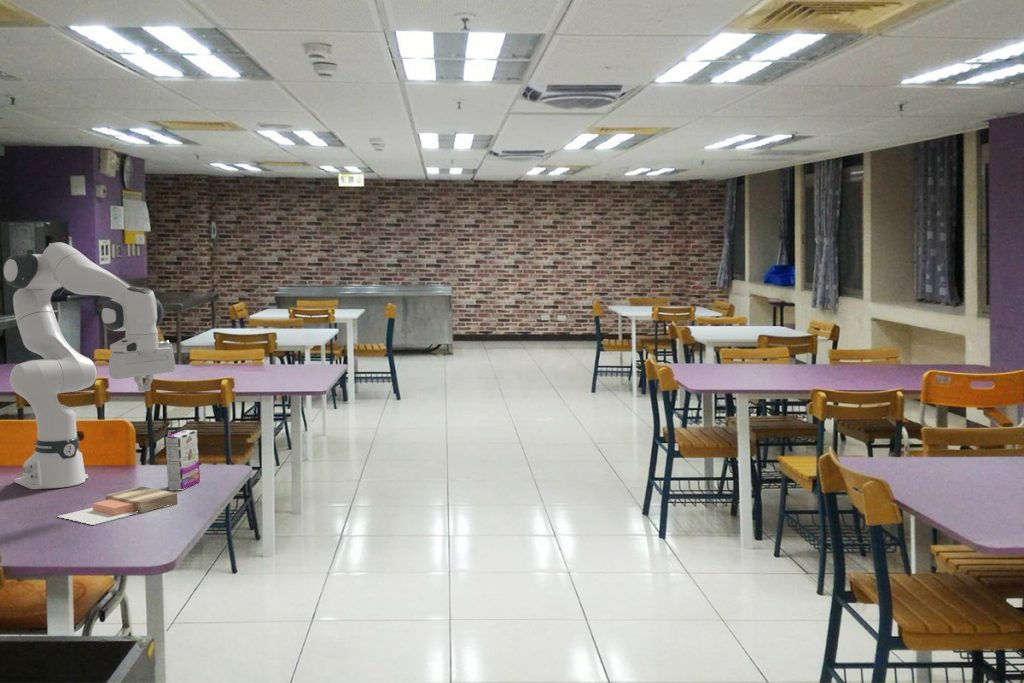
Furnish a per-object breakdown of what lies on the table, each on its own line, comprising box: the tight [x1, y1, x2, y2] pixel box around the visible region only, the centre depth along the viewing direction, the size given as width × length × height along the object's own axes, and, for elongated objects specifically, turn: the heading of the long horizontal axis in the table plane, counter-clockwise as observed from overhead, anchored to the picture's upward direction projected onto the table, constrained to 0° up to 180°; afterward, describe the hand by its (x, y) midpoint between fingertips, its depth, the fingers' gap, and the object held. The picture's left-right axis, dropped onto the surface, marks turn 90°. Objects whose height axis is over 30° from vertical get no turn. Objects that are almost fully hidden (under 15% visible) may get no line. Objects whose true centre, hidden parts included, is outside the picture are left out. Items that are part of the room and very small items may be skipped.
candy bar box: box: [164, 429, 201, 490], centre depth 316 cm, size 11×5×16 cm, turn 168°
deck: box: [104, 486, 178, 513], centre depth 295 cm, size 16×12×3 cm
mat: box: [56, 507, 138, 526], centre depth 283 cm, size 16×14×1 cm
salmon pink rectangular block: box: [92, 499, 134, 516], centre depth 287 cm, size 10×6×2 cm, turn 56°
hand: (144, 391), depth 301 cm, fingers closed
